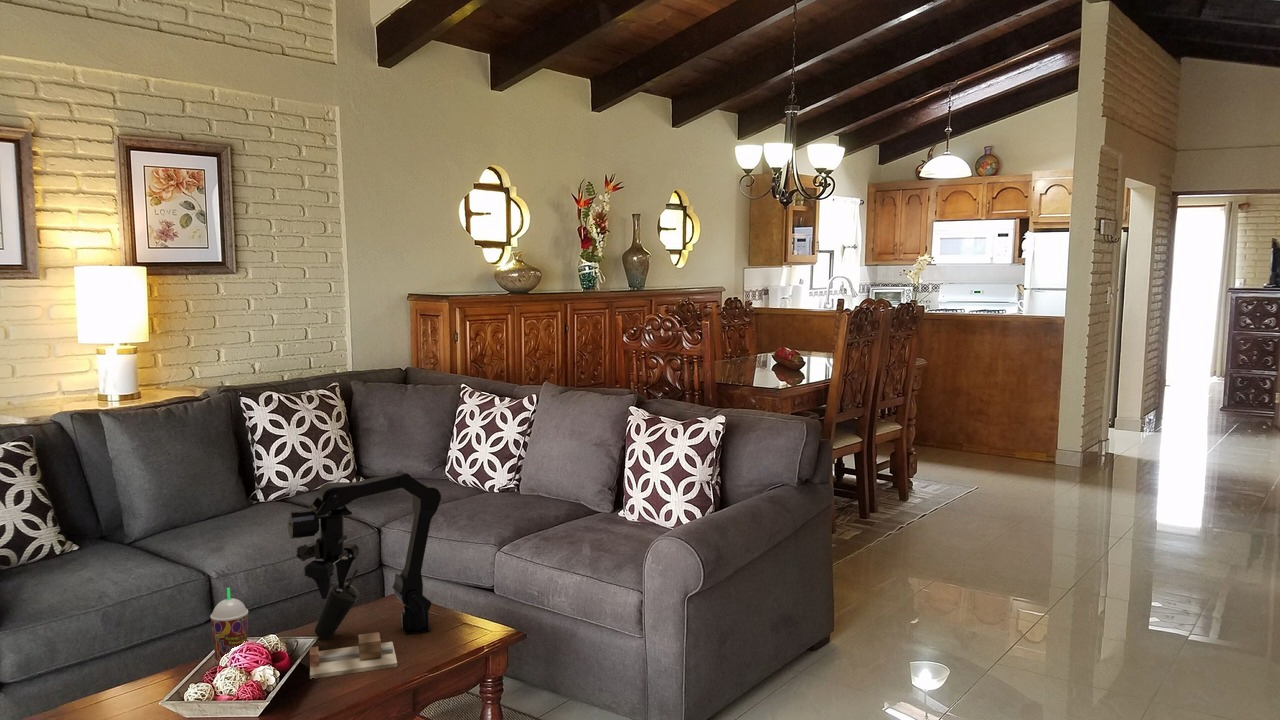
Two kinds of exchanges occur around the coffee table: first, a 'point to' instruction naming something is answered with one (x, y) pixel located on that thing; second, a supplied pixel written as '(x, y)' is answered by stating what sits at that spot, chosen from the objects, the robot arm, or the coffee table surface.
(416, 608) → the robot arm
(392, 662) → the board
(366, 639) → the block
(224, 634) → the smoothie
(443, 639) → the coffee table surface
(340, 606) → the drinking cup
